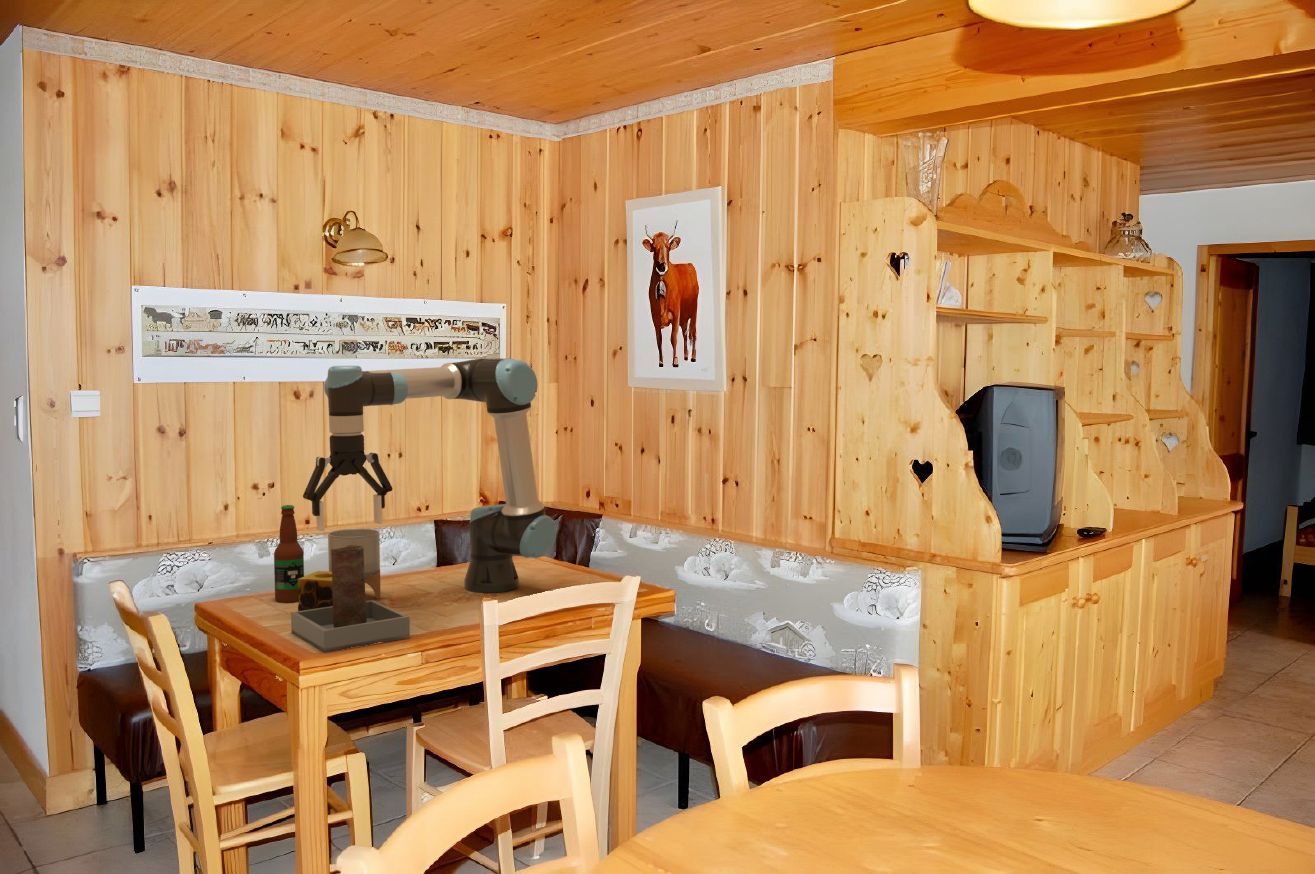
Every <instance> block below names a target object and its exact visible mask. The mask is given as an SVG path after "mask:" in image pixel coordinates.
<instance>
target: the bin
mask: <svg viewBox="0 0 1315 874" xmlns="http://www.w3.org/2000/svg"><path fill="white" fill-rule="evenodd" d="M366 617H367V623H362V624H356V625H350V626H344V627H338V628H334V625H333V606H330V607H324V608H317V609H311V610H304V611H298V610H297V611H292V612H290V628H291V630H290V631H291V634H293V635H294V636H296V637H298V638H299V639H300V640H303V641H304V642H306V643H308V644H309V645H311V646H312V647H314V648H316V649H317V650H318V651H320V652H322V653H324V654H325V653H332V652H337V650H338V651H343V650H342V649H344V650H348V649H347V648H350V649H352V648H351V647H356V646H362V647H366V646H365V645H368V646H371V645H370V644H374V643H378V642H386V643H390V642H389V641H392V642H396V641H395V640H397V641H402V639H403V640H408V639H411V638H410V637H411V633H410V622H411V621H410V616H408V615H407V614H404V613H403V612H400V611H398V610H396V609H394V608H391V607H389V606H387V605H386V604H385V605H384V604H383V603H380V602H378V601H377V600H375V599H372V600H371V599H370V600H366ZM400 639H401V640H400ZM374 645H375V644H374ZM356 648H357V647H356ZM331 651H332V652H331Z"/></svg>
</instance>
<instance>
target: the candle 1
mask: <svg viewBox="0 0 1315 874" xmlns="http://www.w3.org/2000/svg"><path fill="white" fill-rule="evenodd" d="M298 585H299V592H298V594H299V602H298V604H297V605H298V606H297V611H304V610H311V609H317V608H324V607H330V606H333V591H332V572H329V570H328V571H327V570H317V571H315V572H312V573H309V574H307V575H304V577H302V578H299V579H298Z"/></svg>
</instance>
